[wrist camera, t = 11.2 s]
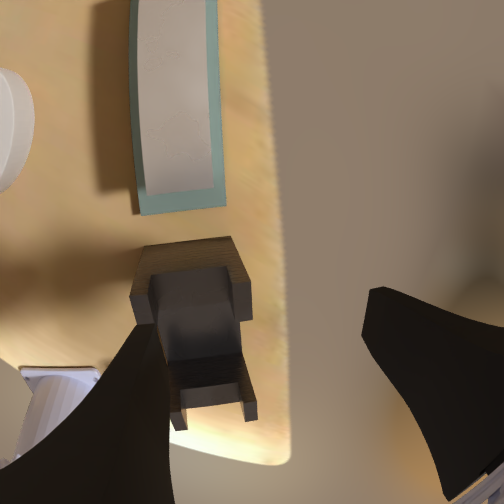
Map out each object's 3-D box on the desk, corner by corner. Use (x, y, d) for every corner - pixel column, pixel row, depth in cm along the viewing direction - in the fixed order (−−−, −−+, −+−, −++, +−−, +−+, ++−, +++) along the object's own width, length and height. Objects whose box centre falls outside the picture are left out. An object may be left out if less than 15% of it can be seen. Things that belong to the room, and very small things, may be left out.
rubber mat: (225, 203, 17) (226, 206, 17) (142, 213, 16) (140, 216, 16) (215, -42, 11) (216, -47, 10) (135, -35, 10) (134, -39, 9)
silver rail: (208, 178, 16) (213, 187, 13) (153, 184, 15) (147, 195, 13) (201, -19, 11) (205, -45, 8) (147, -14, 11) (142, -39, 8)
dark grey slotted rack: (240, 360, 22) (257, 419, 17) (173, 369, 21) (175, 430, 16) (230, 235, 18) (250, 281, 13) (144, 246, 17) (129, 296, 12)
